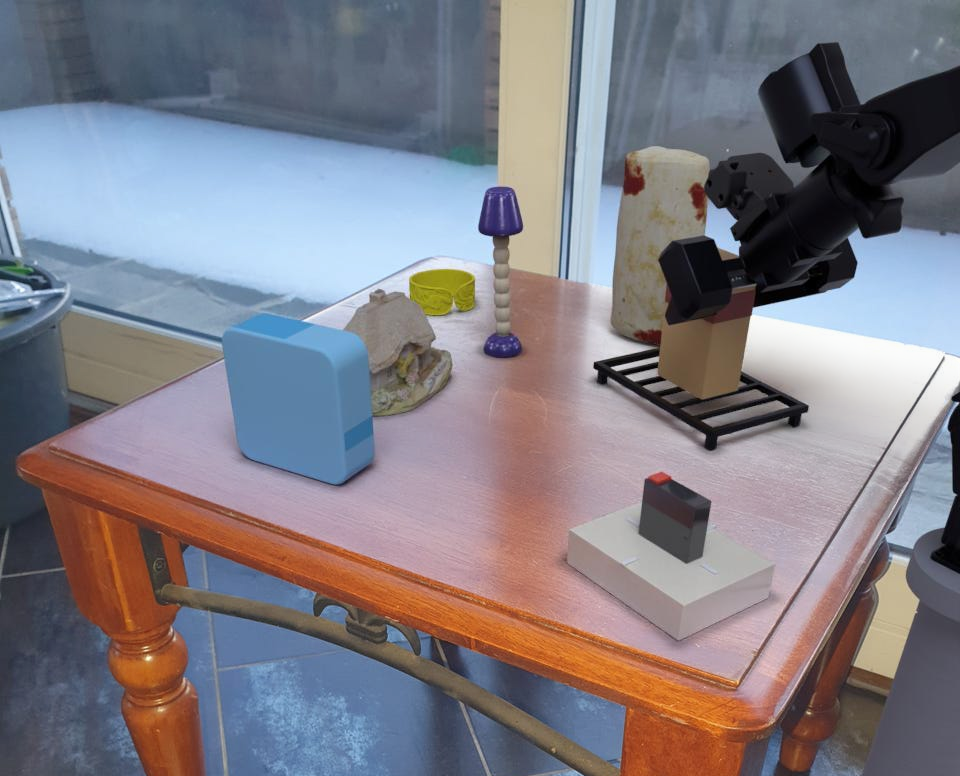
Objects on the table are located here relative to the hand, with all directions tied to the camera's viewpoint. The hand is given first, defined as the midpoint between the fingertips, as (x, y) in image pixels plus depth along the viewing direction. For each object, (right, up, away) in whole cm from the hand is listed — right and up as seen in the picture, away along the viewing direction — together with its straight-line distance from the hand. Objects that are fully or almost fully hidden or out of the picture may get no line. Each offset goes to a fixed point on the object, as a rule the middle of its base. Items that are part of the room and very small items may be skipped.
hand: (706, 312), depth 93 cm
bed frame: (0, -7, +5) cm, 9 cm away
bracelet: (-26, +10, +29) cm, 40 cm away
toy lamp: (-19, +1, +17) cm, 25 cm away
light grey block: (-8, -26, -20) cm, 34 cm away
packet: (0, -6, +4) cm, 7 cm away
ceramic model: (-31, -5, +8) cm, 33 cm away
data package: (-37, -15, -5) cm, 40 cm away
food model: (-2, +3, +20) cm, 20 cm away
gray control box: (-8, -24, -22) cm, 33 cm away
